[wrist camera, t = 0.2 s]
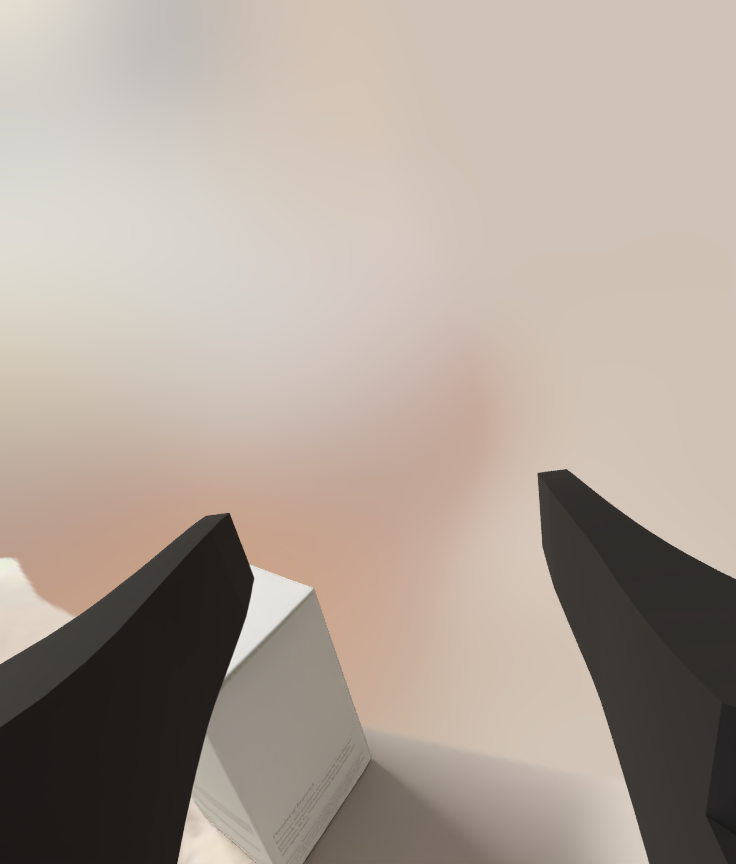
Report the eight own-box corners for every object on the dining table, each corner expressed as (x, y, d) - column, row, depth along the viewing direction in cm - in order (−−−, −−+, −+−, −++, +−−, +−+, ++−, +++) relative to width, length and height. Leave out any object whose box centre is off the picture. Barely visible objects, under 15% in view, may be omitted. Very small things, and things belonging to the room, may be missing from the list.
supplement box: (376, 758, 29) (321, 586, 24) (285, 895, 24) (190, 716, 19) (287, 703, 34) (224, 549, 29) (195, 809, 29) (99, 646, 24)
